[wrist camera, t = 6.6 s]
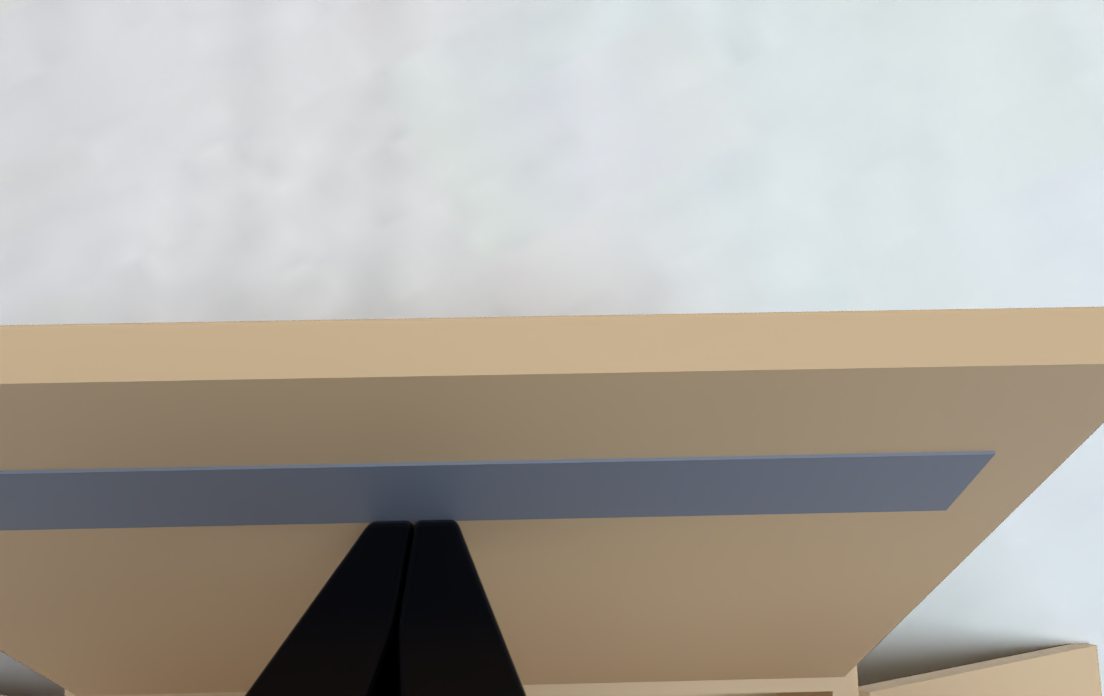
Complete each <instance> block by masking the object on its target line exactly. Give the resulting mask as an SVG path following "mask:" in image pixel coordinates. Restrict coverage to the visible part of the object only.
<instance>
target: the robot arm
mask: <svg viewBox="0 0 1104 696" xmlns="http://www.w3.org/2000/svg"><path fill="white" fill-rule="evenodd" d="M245 696H526V693H525V691H524V688H523V686H522V683H521V681H520V678H519V676H518V673H517V670H516V668H515V665H514V663H513V660H512V658H511V655H510V653H509V650H508V648H507V645H506V643H505V640H504V638H503V635H502V632H501V630H500V627H499V625H498V622H497V620H496V617H495V615H494V612H493V610H492V607H491V605H490V602H489V600H488V597H487V595H486V592H485V589H484V587H483V584H482V582H481V579H480V577H479V574H478V572H477V569H476V567H475V564H474V562H473V559H472V557H471V554H470V552H469V549H468V546H467V544H466V541H465V539H464V536H463V534H462V531H461V529H460V526H459V525H458V523H457V522H456V521H454V520H421V521H418V522H417V523H416V524H415V526H413V524H412V523H410V522H409V521H375V522H372V523H370V524H369V525H368V526H367V527H366V528H365V529H364V531H363V532H362V534H361V535H360V536H359V538H358V539H357V540H356V542H355V543H354V545H353V546H352V547H351V549H350V550H349V552H348V553H347V554H346V556H345V557H344V559H343V560H342V561H341V563H340V564H339V565H338V567H337V568H336V570H335V571H334V572H333V574H332V575H331V577H330V578H329V579H328V581H327V582H326V584H325V585H324V586H323V588H322V589H321V590H320V592H319V593H318V595H317V596H316V597H315V599H314V600H313V602H312V603H311V604H310V606H309V607H308V609H307V610H306V611H305V613H304V614H303V615H302V617H301V618H300V620H299V621H298V622H297V624H296V625H295V627H294V628H293V629H292V631H291V632H290V634H289V635H288V636H287V638H286V639H285V640H284V642H283V643H282V645H281V646H280V647H279V649H278V650H277V652H276V653H275V654H274V656H273V657H272V658H271V660H270V661H269V663H268V664H267V665H266V667H265V668H264V670H263V671H262V672H261V674H260V675H259V677H258V678H257V679H256V681H255V682H254V683H253V685H252V686H251V688H250V689H249V690H248V692H247V693H246V695H245Z"/></svg>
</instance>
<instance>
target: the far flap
mask: <svg viewBox="0 0 1104 696" xmlns="http://www.w3.org/2000/svg"><path fill="white" fill-rule="evenodd" d="M1103 423H1104V307H1066V308H1007V309H948V310H889V311H830V312H771V313H712V314H653V315H594V316H535V317H476V318H417V319H358V320H299V321H240V322H181V323H122V324H63V325H4V326H0V651H2V652H3V653H5V654H7V655H8V656H10V657H12V658H14V659H15V660H17V661H19V662H20V663H22V664H24V665H25V666H27V667H29V668H30V669H32V670H34V671H35V672H37V673H39V674H40V675H42V676H44V677H46V678H47V679H49V680H51V681H52V682H54V683H56V684H57V685H59V686H61V687H62V688H64V689H66V690H67V691H69V692H71V693H72V694H74V695H76V696H94V695H135V694H176V693H216V692H248V690H249V689H250V688H251V686H252V685H253V683H254V682H255V681H256V679H257V678H258V677H259V675H260V674H261V672H262V671H263V670H264V668H265V667H266V665H267V664H268V663H269V661H270V660H271V658H272V657H273V656H274V654H275V653H276V652H277V650H278V649H279V647H280V646H281V645H282V643H283V642H284V640H285V639H286V638H287V636H288V635H289V634H290V632H291V631H292V629H293V628H294V627H295V625H296V624H297V622H298V621H299V620H300V618H301V617H302V615H303V614H304V613H305V611H306V610H307V609H308V607H309V606H310V604H311V603H312V602H313V600H314V599H315V597H316V596H317V595H318V593H319V592H320V590H321V589H322V588H323V586H324V585H325V584H326V582H327V581H328V579H329V578H330V577H331V575H332V574H333V572H334V571H335V570H336V568H337V567H338V565H339V564H340V563H341V561H342V560H343V559H344V557H345V556H346V554H347V553H348V552H349V550H350V549H351V547H352V546H353V545H354V543H355V542H356V540H357V539H358V538H359V536H360V535H361V534H362V532H363V531H364V529H365V528H366V527H367V526H368V525H369V524H370V523H372V522H375V521H409V522H410V523H412V524H413V526H415V524H416V523H417V522H418V521H421V520H454V521H456V522H457V523H458V525H459V526H460V529H461V531H462V534H463V536H464V539H465V541H466V544H467V546H468V549H469V552H470V554H471V557H472V559H473V562H474V564H475V567H476V569H477V572H478V574H479V577H480V579H481V582H482V584H483V587H484V589H485V592H486V595H487V597H488V600H489V602H490V605H491V607H492V610H493V612H494V615H495V617H496V620H497V622H498V625H499V627H500V630H501V632H502V635H503V638H504V640H505V643H506V645H507V648H508V650H509V653H510V655H511V658H512V660H513V663H514V665H515V668H516V670H517V673H518V676H519V678H520V681H521V683H522V685H543V684H583V683H624V682H665V681H706V680H747V679H787V678H828V677H845V676H846V675H847V674H848V673H849V672H850V671H851V670H852V669H853V668H854V667H855V666H856V665H857V664H858V663H859V662H860V661H861V660H862V659H863V658H864V657H865V656H866V655H867V654H868V653H869V652H870V651H871V650H872V649H873V648H874V647H875V646H877V645H878V644H879V643H880V642H881V641H882V640H883V639H884V638H885V637H886V636H887V635H888V634H889V633H890V632H891V631H892V630H893V629H894V628H895V627H896V626H897V625H898V624H899V623H900V622H901V621H902V620H903V619H904V618H905V617H906V616H907V615H908V614H909V613H910V612H911V611H912V610H913V609H914V608H915V607H916V606H917V605H918V604H919V603H920V602H921V601H922V600H923V599H924V598H925V597H926V596H927V595H928V594H929V593H931V592H932V591H933V590H934V589H935V588H936V587H937V586H938V585H939V584H940V583H941V582H942V581H943V580H944V579H945V578H946V577H947V576H948V575H949V574H950V573H951V572H952V571H953V570H954V569H955V568H956V567H957V566H958V565H959V564H960V563H961V562H962V561H963V560H964V559H965V558H966V557H967V556H968V555H969V554H970V553H971V552H972V551H973V550H974V549H975V548H976V547H977V546H978V545H979V544H980V543H981V542H982V541H983V540H985V539H986V538H987V537H988V536H989V535H990V534H991V533H992V532H993V531H994V530H995V529H996V528H997V527H998V526H999V525H1000V524H1001V523H1002V522H1003V521H1004V520H1005V519H1006V518H1007V517H1008V516H1009V515H1010V514H1011V513H1012V512H1013V511H1014V510H1015V509H1016V508H1017V507H1018V506H1019V505H1020V504H1021V503H1022V502H1023V501H1024V500H1025V499H1026V498H1027V497H1028V496H1029V495H1030V494H1031V493H1032V492H1033V491H1034V490H1035V489H1036V488H1037V487H1039V486H1040V485H1041V484H1042V483H1043V482H1044V481H1045V480H1046V479H1047V478H1048V477H1049V476H1050V475H1051V474H1052V473H1053V472H1054V471H1055V470H1056V469H1057V468H1058V467H1059V466H1060V465H1061V464H1062V463H1063V462H1064V461H1065V460H1066V459H1067V458H1068V457H1069V456H1070V455H1071V454H1072V453H1073V452H1074V451H1075V450H1076V449H1077V448H1078V447H1079V446H1080V445H1081V444H1082V443H1083V442H1084V441H1085V440H1086V439H1087V438H1088V437H1089V436H1090V435H1091V434H1093V433H1094V432H1095V431H1096V430H1097V429H1098V428H1099V427H1100V426H1101V425H1102V424H1103Z"/></svg>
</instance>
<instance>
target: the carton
mask: <svg viewBox="0 0 1104 696" xmlns="http://www.w3.org/2000/svg"><path fill="white" fill-rule="evenodd" d="M522 686H523V688H524V691H525V693H526V696H1102V692H1101V682H1100V672H1099V663H1098V653H1097V645H1091V644H1068V645H1063V646H1058V647H1053V648H1048V649H1043V650H1038V651H1033V652H1028V653H1023V654H1018V655H1013V656H1008V657H1003V658H998V659H993V660H988V661H983V662H978V663H973V664H968V665H963V666H958V667H953V668H948V669H943V670H938V671H933V672H928V673H923V674H918V675H913V676H908V677H903V678H898V679H893V680H888V681H883V682H879V683H874V684H869V685H864V686H859V687H858V672H857V665H856V666H855V667H854V668H853V669H852V670H851V671H850V672H849V673H848V674H847V675H846V676H845V677H828V678H787V679H747V680H706V681H665V682H624V683H583V684H543V685H522ZM246 693H247V692H216V693H176V694H135V695H94V696H245V695H246ZM0 696H6V695H0ZM65 696H76V695H74V694H72V693H71V692H69V691H67V690H66V689H65Z"/></svg>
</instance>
